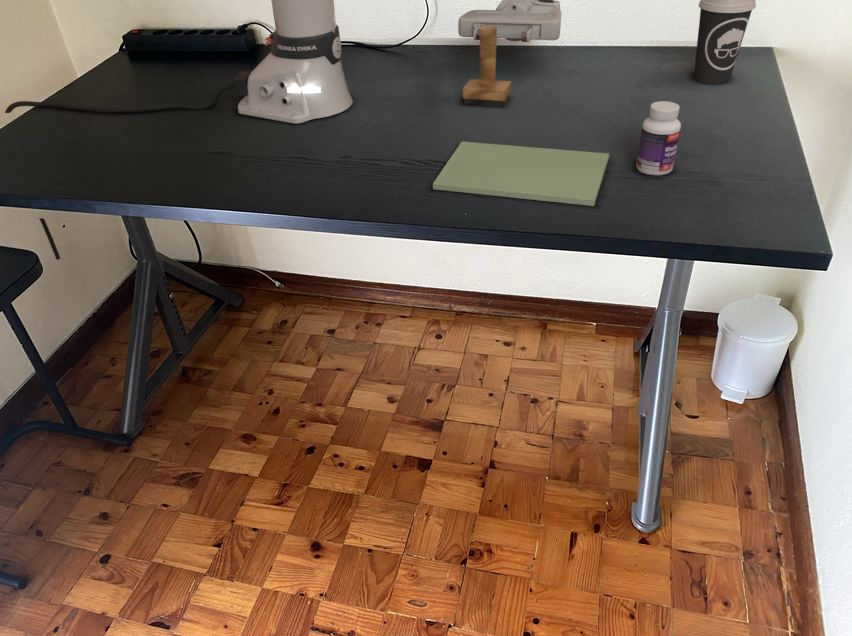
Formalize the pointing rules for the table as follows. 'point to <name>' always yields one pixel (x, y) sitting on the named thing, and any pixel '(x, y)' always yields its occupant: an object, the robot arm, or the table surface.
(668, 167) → the pill bottle
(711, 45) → the coffee cup
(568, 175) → the mat
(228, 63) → the table surface
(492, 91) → the scrub brush
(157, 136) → the table surface
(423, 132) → the table surface
